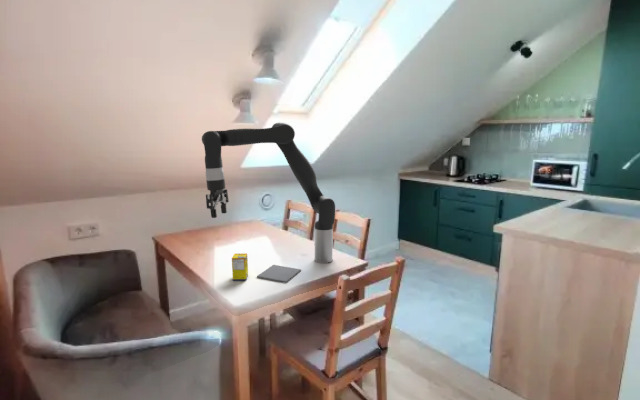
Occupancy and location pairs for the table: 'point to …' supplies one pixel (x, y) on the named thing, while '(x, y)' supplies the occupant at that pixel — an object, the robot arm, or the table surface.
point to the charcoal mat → (279, 273)
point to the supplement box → (240, 267)
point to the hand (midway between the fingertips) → (219, 215)
